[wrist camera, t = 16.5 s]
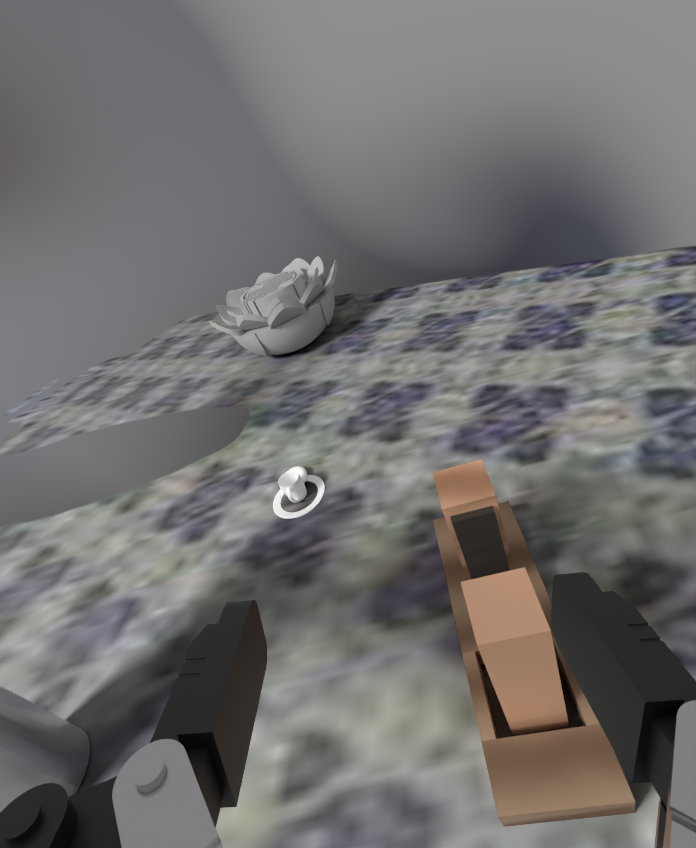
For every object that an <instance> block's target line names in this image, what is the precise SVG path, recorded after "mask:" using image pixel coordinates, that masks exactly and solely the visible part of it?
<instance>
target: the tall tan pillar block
mask: <svg viewBox="0 0 696 848" xmlns="http://www.w3.org/2000/svg"><path fill="white" fill-rule="evenodd" d="M461 585H462V589H463V593H464V597H465V601H466V605H467V609H468V612H469V616H470V620H471V624H472V628H473V632H474V636H475V639H476V643H477V647H478V649H479V652H480V654H481V657H482V659H483V662H484V664H485V667H486V669H487V672H488V674H489V677H490V679H491V682H492V684H493V687H494V689H495V692H496V694H497V697H498V699H499V701H500V704H501V706H502V709H503V711H504V714H505V716H506V719H507V721H508V724H509V726H510V729H511V731H512V734H513V735H516V734H523V733H529V732H535V731H542V730H548V729H555V728H561V727H567V726H569V723H568V718H567V712H566V707H565V702H564V697H563V692H562V686H561V681H560V676H559V671H558V666H557V660H556V655H555V650H554V645H553V640H552V634H551V630H550V627H549V625H548V623H547V620H546V618H545V615H544V613H543V610H542V608H541V605H540V603H539V601H538V598H537V596H536V593H535V591H534V588H533V586H532V583H531V581H530V578H529V576H528V574H527V571H526V569H525V567H524V568H519V569H515V570H511V571H506V572H502V573H497V574H493V575H489V576H484V577H480V578H476V579H471V580H467V581H463V582H461Z"/></svg>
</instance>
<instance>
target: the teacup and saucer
mask: <svg viewBox="0 0 696 848" xmlns="http://www.w3.org/2000/svg"><path fill="white" fill-rule="evenodd" d="M305 481H310V482H313V483H315V484H316V485H317V488H318V493H317V496H316V498H315V500H314V501H313V502H312V503H311V504H310V505H309V506H308V507H306V508H305V509H303V510H301V511H298V512H293V513H289V512H286V511H284V510H283V509H282V508H281V505H280V501H281V498H282V496H283V494H284V493H285V494H286V495H287V496H288V498H289V500H290V501H292V502H300V501H302V500H303V499H304V498H305V497H306V495H307V491H306V487H305V484H304V483H305ZM278 484H279V486H280V488H281V489H280V490H279V492H278V493H277V495H276V496H275V499H274V502H273V509H274V512H275V513H276V515H278V516H279V517H281V518H285V519H292V518H297V517H300V516H302V515H304V514H306V513H308V512H309V511H311V510H312V509H313V508H315V507H316V506H317V504H318V503H319V502H320V501H321V499H322V497H323V495H324V492H325V484H324V482H323V480H322V479H321V478H319V477H318V476H314V475H307V471H306V470H305V469H304V468H303V467H300V466H296V467H293V468H291V469H289V470H288V471H287V472H286V473H284V474H283V475H282V476H281V477H280V478H279V480H278Z"/></svg>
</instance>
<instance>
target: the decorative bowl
mask: <svg viewBox="0 0 696 848" xmlns="http://www.w3.org/2000/svg"><path fill="white" fill-rule="evenodd" d="M337 267H338V264H337V261H336V260H335V262H334V265H333V267H332V269H331V271H330V272H329V274H328V275H327V277H326V272H325V268H324V266H323V263H322V261H321V259H320V257H316V258H315V259H314V260H313V262H312V263H311V265H310V266H309V264H308V263H307V262H306V261H304V260H302V259H299V258H296V259H295V260H293V261H292V262H291V264H290V265H288V266H287V267H285V268H284V270H283V271H282V273H279V274H276V275H275V274H272V273H262V274H261V275H260V276H259V277H258V279H257V281H256V284H255V285H254V286H253V288H247V287H245V288H241V289H239V290H231V291H229V292H228V294H227V297H226V301H227V306H224V305H218V306H216V309H217V311H218V313H219V315H220V316H221V318H222V319H223V321H224V322H225V323H227V324H228V325H220V324H215V323H213V322H211V321H209V322H210V323H211V325H212V327H214V328H217V329H219V330H221V331H223V332H226V333H229V334H232V336H233V337H234V338H235V339H236V340H237V342H238V343H239V344H241V345H242V346H243V347H244V348H246V349H247V350H249V351H251V352H253V353H255V354H258V355H261V356H267V354H268V355H281V354H287V353H290V352H294V351H296V350H299V349H301V348H303V347H305V346H306V345H308V344H309V343H311V342H312V341H313V340H315V339H316V338H317V337H318V336H319V335H320V334H321V333H322V331H323V330H324V329H325V327H326V325H329V324H330V322H331V320H332V317H333V313H334V306H335V298H334V291H333V288H332V285H333V283H334V280H335V277H336V273H337Z"/></svg>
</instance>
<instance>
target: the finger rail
mask: <svg viewBox="0 0 696 848" xmlns="http://www.w3.org/2000/svg"><path fill="white" fill-rule="evenodd" d="M433 476H434V480H435V484H436V488H437V492H438V496H439V500H440V504H441V508H442V511H443V514H444V518H440V519H436V520H433V523H434V527H435V532H436V536H437V541H438V546H439V550H440V555H441V559H442V564H443V568H444V573H445V577H446V582H447V586H448V591H449V596H450V600H451V605H452V609H453V614H454V618H455V623H456V627H457V632H458V636H459V641H460V646H461V650H462V655H463V659H464V664H465V668H466V673H467V677H468V682H469V686H470V691H471V696H472V700H473V705H474V709H475V714H476V718H477V723H478V727H479V732H480V736H481V741H482V746H483V750H484V755H485V759H486V764H487V768H488V773H489V777H490V782H491V786H492V791H493V796H494V800H495V805H496V809H497V814H498V817H499V819H500V820H501V822H502V824H503V825H504V826H513V825H523V824H532V823H542V822H551V821H561V820H570V819H580V818H589V817H599V816H608V815H618V814H627V813H635V803H636V802H635V799H634V797H633V795H632V792H631V790H630V787H629V785H628V783H627V780H626V778H625V776H624V773H623V771H622V768H621V766H620V764H619V761H618V759H617V757H616V754H615V752H614V750H613V747H612V746H611V744H610V742H609V740H608V738H607V736H606V734H605V733H604V731H603V729H602V727H601V725H600V723H599V721H598V720H597V718H596V716H595V714H594V712H593V710H592V709H591V707H590V705H589V703H588V701H587V699H586V697H585V696H584V694H583V692H582V690H581V688H580V686H579V684H578V683H577V681H576V679H575V677H574V675H573V673H572V671H571V670H570V668H569V666H568V664H567V662H566V660H565V659H564V657H563V655H562V653H561V651H560V649H559V647H558V645H557V643H556V641H555V638H554V635H553V631H552V625H551V610H552V603H551V600H550V598H549V596H548V593H547V591H546V589H545V586H544V584H543V581H542V579H541V577H540V574H539V572H538V570H537V567H536V565H535V563H534V560H533V558H532V555H531V553H530V551H529V548H528V546H527V544H526V541H525V539H524V537H523V534H522V532H521V529H520V527H519V525H518V522H517V520H516V518H515V515H514V513H513V510H512V508H511V506H510V503H509V501H507V502H503V503H499V504H498V502H497V498H496V495H495V492H494V490H493V487H492V485H491V482H490V480H489V477H488V474H487V472H486V469H485V467H484V464H483V462H482V459H480V460H477V461H473V462H469V463H466V464H462V465H459V466H455V467H451V468H448V469H444V470H440V471H437V472H433ZM524 567H525V569H526V571H527V574H528V576H529V578H530V581H531V583H532V586H533V588H534V591H535V593H536V596H537V598H538V601H539V603H540V605H541V608H542V610H543V613H544V615H545V618H546V620H547V623H548V625H549V627H550V630H551V634H552V640H553V645H554V650H555V655H556V657H557V660H558V662H559V665H560V668H561V670H562V673H563V675H564V678H565V680H566V683H567V685H568V688H569V691H570V693H571V696H572V698H573V701H574V703H575V706H576V709H577V711H578V714H579V716H580V719H581V721H582V724H583V726H581V727H574V728H567V729H560V730H554V731H547V732H540V733H533V734H526V735H519V736H512V737H506V738H499V739H498V735H497V731H496V727H495V722H494V718H493V714H492V710H491V706H490V702H489V698H488V694H487V690H486V686H485V682H484V678H483V674H482V670H481V666H480V665H483V664H484V662H483V659H482V657H481V654H480V652H479V649H478V647H477V643H476V639H475V636H474V632H473V628H472V624H471V620H470V616H469V612H468V609H467V605H466V601H465V597H464V593H463V589H462V585H461V582H463V581H467V580H471V579H476V578H480V577H484V576H489V575H493V574H497V573H502V572H506V571H511V570H515V569H519V568H524Z"/></svg>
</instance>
